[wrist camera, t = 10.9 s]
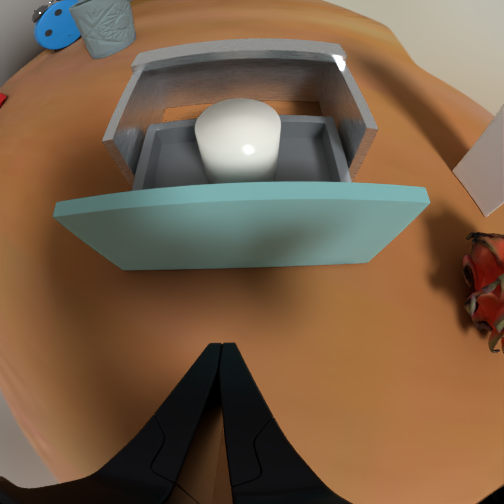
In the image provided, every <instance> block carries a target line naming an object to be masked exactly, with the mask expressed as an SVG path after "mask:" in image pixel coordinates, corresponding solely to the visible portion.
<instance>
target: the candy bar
mask: <svg viewBox="0 0 504 504" xmlns="http://www.w3.org/2000/svg"><path fill="white" fill-rule="evenodd" d="M5 99H6V96H5V95H4V94H2V93H0V107H1V106H2V104H3V102H4V101H5Z"/></svg>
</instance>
